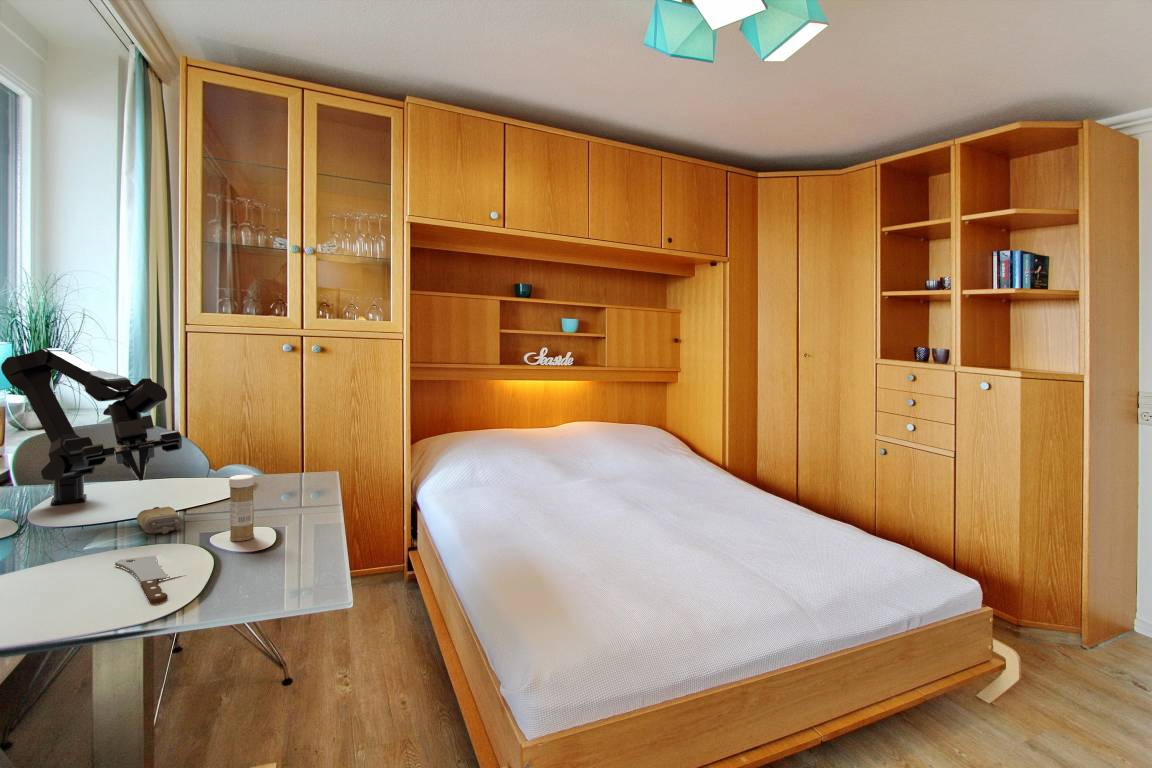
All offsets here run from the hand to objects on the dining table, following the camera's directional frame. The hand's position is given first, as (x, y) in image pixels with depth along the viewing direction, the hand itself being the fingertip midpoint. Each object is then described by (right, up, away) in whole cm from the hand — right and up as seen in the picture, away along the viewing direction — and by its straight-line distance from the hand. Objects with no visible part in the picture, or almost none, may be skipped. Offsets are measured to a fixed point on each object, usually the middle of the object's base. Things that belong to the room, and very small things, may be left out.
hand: (141, 479), depth 134 cm
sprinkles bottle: (+30, -11, -12) cm, 34 cm away
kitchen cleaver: (+27, -12, -32) cm, 44 cm away
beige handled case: (+6, -7, -4) cm, 10 cm away
